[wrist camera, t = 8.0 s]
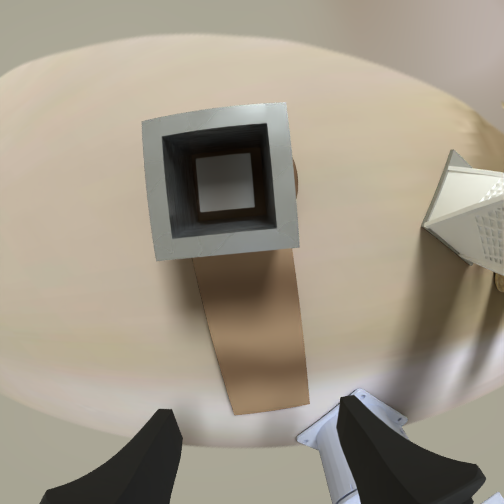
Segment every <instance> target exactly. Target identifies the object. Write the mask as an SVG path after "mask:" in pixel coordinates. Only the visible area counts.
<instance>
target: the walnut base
mask: <svg viewBox="0 0 504 504" xmlns="http://www.w3.org/2000/svg"><path fill="white" fill-rule="evenodd" d="M292 159H293V158H292ZM192 165H193V176H194V186H195V196H196V205H197V214H198V222H200V221H209V220H218V219H228V218H238V217H248V216H259V215H266V204H265V193H264V182H263V172H262V161H261V151H260V147H253V148H242V149H232V150H223V151H215V152H207V153H200V154H193V155H192ZM293 169H294V180H295V191H296V199H297V193H298V176H297V170H296V166H295V163H294V160H293ZM192 260H193V264H194V269H195V273H196V277H197V282H198V286H199V290H200V294H201V298H202V302H203V306H204V310H205V314H206V318H207V322H208V326H209V330H210V333H211V337H212V341H213V344H214V348H215V352H216V355H217V359H218V362H219V366H220V369H221V373H222V376H223V379H224V383H225V386H226V389H227V393H228V396H229V399H230V402H231V406H232V409H233V412H234V415H242V414H251V413H259V412H266V411H273V410H280V409H286V408H291V407H297V406H302V405H307V404H310V401H309V390H308V379H307V368H306V358H305V348H304V339H303V330H302V321H301V313H300V305H299V297H298V289H297V281H296V274H295V266H294V259H293V252H292V248H289V249H278V250H268V251H257V252H247V253H236V254H226V255H215V256H205V257H194V258H192Z"/></svg>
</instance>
